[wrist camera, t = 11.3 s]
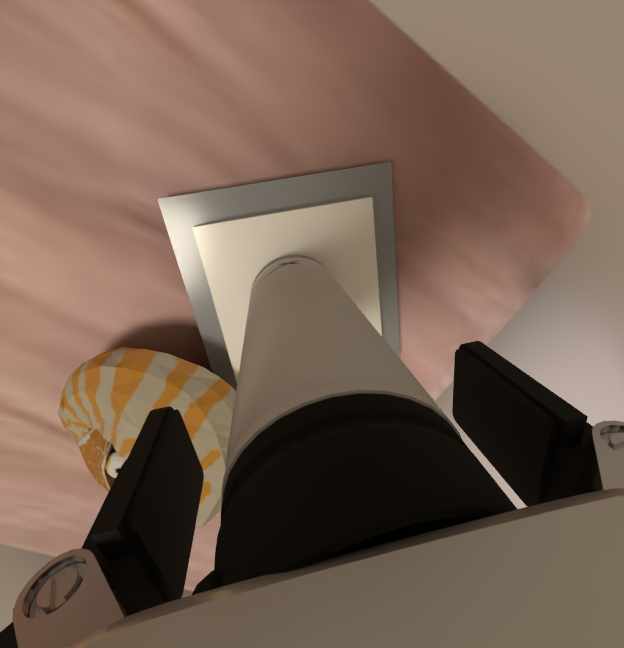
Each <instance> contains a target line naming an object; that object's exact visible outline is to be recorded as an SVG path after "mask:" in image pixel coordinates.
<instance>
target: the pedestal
mask: <svg viewBox="0 0 624 648" xmlns="http://www.w3.org/2000/svg"><path fill="white" fill-rule="evenodd" d="M158 202H159V205H160V208H161V212H162V215H163V218H164V221H165V224H166V227H167V231H168V234H169V237H170V240H171V243H172V246H173V249H174V253H175V256H176V259H177V262H178V265H179V268H180V271H181V275H182V278H183V281H184V284H185V287H186V290H187V294H188V297H189V300H190V303H191V306H192V309H193V312H194V316H195V319H196V322H197V325H198V328H199V331H200V335H201V338H202V341H203V344H204V347H205V350H206V353H207V357H208V360H209V363H210V366H211V369H212V372H213V374H216V375H217V376H219V377H220V378H221V379H223V380H224V381H225V382H227V383H228V384H229V385H230V386H231V387H232V388H233V389H234V390H235V391H236V389H237V382H238V375H239V369H240V362H241V355H242V348H243V341H244V335H245V328H246V321H247V314H248V308H249V301H250V294H251V289H252V285H253V282H254V280H255V278H256V276H257V274H258V273H259V272H260V271H261V269H262V268H263V267H265V266H266V265H267V264H268V263H269V262H271V261H273V260H275V259H277V258H280V257H283V256H287V255H302V256H307V257H310V258H313V259H314V260H316V261H318V262H320V263H321V264H322V265H323V266H324V267H326V268H327V270H328V271H329V272H330V273H331V275H332V276H333V277H334V278H335V279H336V281H337V282H338V283H339V284H340V286H341V287H342V288H343V289H344V291H345V292H346V293H347V294H348V296H349V297H350V298H351V299H352V300H353V302H354V303H355V304H356V305H357V307H358V308H359V309H360V310H361V312H362V313H363V314H364V315H365V316H366V318H367V319H368V320H369V321H370V323H371V324H372V325H373V326H374V328H375V329H376V330H377V331H378V333H379V334H380V335H381V336H382V337H383V339H384V340H385V341H386V342H387V344H388V345H389V346H390V347H391V349H392V350H393V351H394V352H395V353H396V355H397V356H398V357H399V358H400V338H399V316H398V293H397V271H396V249H395V227H394V205H393V182H392V162H386V163H380V164H373V165H367V166H361V167H355V168H348V169H342V170H336V171H330V172H323V173H317V174H311V175H305V176H298V177H292V178H286V179H280V180H273V181H267V182H261V183H254V184H248V185H242V186H236V187H229V188H223V189H217V190H211V191H204V192H198V193H192V194H186V195H179V196H173V197H167V198H161V199H158Z"/></svg>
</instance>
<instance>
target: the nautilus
mask: <svg viewBox="0 0 624 648" xmlns="http://www.w3.org/2000/svg"><path fill="white" fill-rule="evenodd" d="M235 396H236V391H235V390H234V389H233V388H232V387H231V386H230V385H229V384H228V383H227V382H225V381H224V380H223V379H221V378H220V377H219V376H217V375H216V374H213V373H212V372H210V371H209V370H207V369H206V368H204V367H202V366H199V365H196V364H194V363H191V362H189V361H186V360H183V359H181V358H178V357H176V356H173V355H170V354H168V353H163V352H157V351H152V350H147V349H137V348H127V347H120V348H117V349H114V350H111V351H108V352H105V353H101V354H99V355H97V356H96V357H94V358H92V359H90V360H88V361H87V362H85V363H83V364H82V365H81V366H80V367H79V368H78V369H77V370H75V371H74V372H73V373H72V374H71V375H70V377H69V378H68V380H67V382H66V385H65V387H64V389H63V392H62V396H61V402H60V408H59V416H60V418H61V421H62V423H63V425H64V427H65V428H66V429H67V430H68V432H69V433H70V434H71V435H72V436H73V437H74V438H75V439H76V440H77V441H78V443H77V444H78V446H79V448H80V451H81V453H82V456H83V458H84V461H85V463H86V466H87V467H88V469H89V470H90V472H91V473H92V475H93V476H94V478H95V479H96V481H97V482H98V483H99V484H100V485H102V486H103V487H104V488H105V489H107V490H108V491H110V489H111V487H112V485H113V483H114V481H115V479H116V476H117V474H118V472H119V470H120V468H121V466H122V464H123V463H124V461H125V460H127V458H128V456H129V454H130V452H131V450H132V448H133V446H134V443H135V441H136V439H137V437H138V435H139V433H140V431H141V429H142V427H143V425H144V423H145V421H146V418H147V416H148V414H149V412H150V411H151V410H153V409H158V408H163V407H168V406H171V407H172V408H173V409H174V410H176V409H178V410H179V411H180V413H181V416H182V418H183V421H184V423H185V426H186V428H187V431H188V433H189V436H190V438H191V441H192V443H193V446H194V448H195V451H196V453H197V456H198V459H199V461H200V464H201V466H202V469H203V473H204V482H203V487H202V493H201V498H200V503H199V509H198V514H197V520H196V525H195V526H196V527H199V528H202V527H203V526H204V525H205V524H206V523H207V522H208V521H209V520H210V519H212V518H213V517H214V516H215V515H216V514H217V513H218V512H219V511H220V509H221V495H222V484H223V477H224V474H225V470H226V457H227V450H228V443H229V436H230V430H231V423H232V416H233V409H234V402H235Z"/></svg>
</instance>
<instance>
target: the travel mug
mask: <svg viewBox="0 0 624 648" xmlns="http://www.w3.org/2000/svg"><path fill="white" fill-rule="evenodd" d="M514 510H517V508H516V507H515V506H514V504H513V503H512V502H511V501H510V499H509V498H508V497H507V496H506V494H505V493H504V492H503V491H502V490H501V488H500V487H499V486H498V484H497V483H496V482H495V480H494V479H493V478H492V477H491V475H490V474H489V473H488V472H487V470H486V469H485V468H484V467H483V465H482V464H481V463H480V462H479V460H478V459H477V458H476V457H475V455H474V454H473V453H472V452H471V451H470V450H469V448H468V447H467V446H466V445H465V443H464V442H463V440H462V439H461V436H460V434H459V432H458V431H457V429H456V428H455V427H454V426H453V424H452V423H451V422H450V420H449V419H448V418H447V416H446V415H445V414H444V413H443V411H442V410H441V409H440V408H439V407H438V406H437V404H436V403H435V402H434V401H433V399H432V398H431V397H430V395H429V394H428V393H427V392H426V390H425V389H424V388H423V387H422V386H421V384H420V383H419V382H418V381H417V379H416V378H415V377H414V376H413V374H412V373H411V372H410V371H409V370H408V368H407V367H406V366H405V365H404V363H403V362H402V361H401V360H400V358H399V357H398V356H397V355H396V353H395V352H394V351H393V350H392V349H391V347H390V346H389V345H388V344H387V342H386V341H385V340H384V339H383V337H382V336H381V335H380V334H379V333H378V331H377V330H376V329H375V328H374V326H373V325H372V324H371V323H370V321H369V320H368V319H367V318H366V316H365V315H364V314H363V313H362V312H361V310H360V309H359V308H358V307H357V305H356V304H355V303H354V302H353V300H352V299H351V298H350V297H349V296H348V294H347V293H346V292H345V291H344V289H343V288H342V287H341V286H340V284H339V283H338V282H337V281H336V279H335V278H334V277H333V276H332V275H331V273H330V272H329V271H328V270H327V268H326V267H324V266H323V265H322V264H321V263H320V262H318V261H316V260H314V259H313V258H310V257H307V256H302V255H287V256H283V257H280V258H277V259H275V260H273V261H271V262H269V263H268V264H267V265H266V266H265V267H263V268H262V269H261V271H260V272H259V273H258V274H257V276H256V278H255V280H254V282H253V285H252V289H251V294H250V301H249V308H248V314H247V321H246V328H245V335H244V341H243V348H242V355H241V362H240V369H239V375H238V382H237V389H236V396H235V402H234V409H233V416H232V423H231V430H230V436H229V443H228V450H227V457H226V470H225V474H224V477H223V484H222V495H221V526H220V530H219V533H218V537H217V544H216V552H215V567H214V571H212V572H211V573H209V574H208V575H207V576H206V577H205V578H204V579H203V580H202V581H201V582H200V583H198V584H197V586H196V588H195V590H194V592H193V593H192V595H195V594H198V593H202V592H205V591H209V590H212V589H216V588H219V587H223V586H226V585H230V584H233V583H237V582H241V581H245V580H248V579H252V578H256V577H260V576H263V575H269V574H278V573H284V572H288V571H292V570H295V569H299V568H302V567H305V566H309V565H312V564H315V563H318V562H319V561H321V560H323V559H327V558H331V557H335V556H339V555H342V554H346V553H350V552H354V551H358V550H362V549H365V548H369V547H373V546H377V545H381V544H385V543H388V542H392V541H396V540H400V539H404V538H408V537H412V536H415V535H419V534H423V533H427V532H431V531H435V530H439V529H443V528H446V527H450V526H454V525H458V524H462V523H466V522H470V521H474V520H478V519H482V518H486V517H490V516H494V515H498V514H502V513H506V512H510V511H514Z"/></svg>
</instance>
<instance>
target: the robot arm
mask: <svg viewBox="0 0 624 648" xmlns="http://www.w3.org/2000/svg"><path fill="white" fill-rule="evenodd" d="M453 417H454V419H455V421H456V422H457V424H458V425H459V426H460V427H461V428H462V430H463V431H464V432H465V433H466V434H467V436H468V437H469V438H470V439H471V440H472V442H473V443H474V444H475V445H476V446H477V447H478V449H479V450H480V451H481V452H482V453H483V454H484V456H485V457H486V458H487V459H488V461H489V462H490V463H491V464H492V465H493V466H494V468H495V469H496V470H497V471H498V473H499V474H500V475H501V476H502V477H503V479H504V480H505V481H506V482H507V483H508V484H509V486H510V487H511V488H512V489H513V490H514V492H515V493H516V494H517V495H518V496H519V498H520V499H521V500H522V501H523V502H524V503H525V505H526V506H528V507H525V508H522V509H517V510H514V511H510V512H506V513H502V514H498V515H494V516H490V517H486V518H482V519H478V520H474V521H470V522H466V523H462V524H458V525H454V526H450V527H446V528H443V529H439V530H435V531H431V532H427V533H423V534H419V535H415V536H412V537H408V538H404V539H400V540H396V541H392V542H388V543H385V544H381V545H377V546H373V547H369V548H365V549H362V550H358V551H354V552H350V553H346V554H342V555H339V556H335V557H331V558H327V559H323V560H321V561H319V562H318V563H315V564H312V565H309V566H305V567H302V568H299V569H295V570H292V571H288V572H284V573H278V574H269V575H263V576H260V577H256V578H252V579H248V580H245V581H241V582H237V583H233V584H230V585H226V586H223V587H219V588H216V589H212V590H209V591H205V592H202V593H198V594H195V595H191V596H188V597H185V598H181V597H182V595H183V590H184V585H185V579H186V574H187V568H188V563H189V558H190V552H191V547H192V541H193V536H194V531H195V525H196V520H197V514H198V509H199V503H200V498H201V493H202V487H203V482H204V473H203V469H202V466H201V464H200V461H199V459H198V456H197V453H196V451H195V448H194V446H193V443H192V441H191V438H190V436H189V433H188V431H187V428H186V426H185V423H184V421H183V418H182V416H181V413H180V411H179V410H178V409H176V410H174V409H173V408H172V407H171V406H168V407H163V408H158V409H153V410H151V411H150V412H149V414H148V416H147V418H146V421H145V423H144V425H143V427H142V429H141V431H140V433H139V435H138V437H137V439H136V441H135V443H134V446H133V448H132V450H131V452H130V454H129V456H128V458H127V460H125V461H124V463H123V464H122V466H121V468H120V470H119V472H118V474H117V476H116V479H115V481H114V483H113V485H112V487H111V489H110V491H109V493H108V495H107V497H106V499H105V501H104V503H103V505H102V507H101V509H100V511H99V513H98V515H97V518H96V520H95V522H94V524H93V526H92V528H91V530H90V532H89V534H88V536H87V538H86V540H85V542H84V544H83V546H82V548H80V549H74V550H70V551H68V552H65V553H63V554H61V555H59V556H58V557H56V558H54V559H53V560H51V561H50V562H48V563H47V564H46V565H45V566H44V567H42V568H41V569H40V570H39V571H38V572H37V573H36V574H35V575H34V576H33V577H32V578H31V580H30V581H29V582H28V583H27V584H26V585H25V587H24V588H23V590H22V592H21V593H20V595H19V596H18V598H17V601H16V603H15V606H14V608H13V622H12V623H11V624H10V625H9V626H7V627H6V628H5V629H4V630H3V631H1V632H0V648H624V422H619V421H603V422H600V423H597V424H596V425H595V426H594V427H593V426H591V425H590V424H589V423H587V422H586V421H587V416H586V415H584V414H583V413H581V412H580V411H579V410H577V409H576V408H574V407H573V406H572V405H570V404H569V403H567V402H566V401H564V400H563V399H562V398H560V397H559V396H557V395H556V394H554V393H553V392H551V391H550V390H549V389H547V388H546V387H544V386H543V385H542V384H540V383H539V382H537V381H536V380H534V379H533V378H532V377H530V376H529V375H527V374H526V373H524V372H523V371H522V370H520V369H519V368H517V367H516V366H515V365H513V364H512V363H510V362H509V361H507V360H506V359H504V358H503V357H502V356H500V355H499V354H497V353H496V352H494V351H493V350H492V349H490V348H489V347H487V346H486V345H485V344H483V343H482V342H480V341H475V342H470V343H465V344H462V345H460V347H459V349H457V350H456V352H455V366H454V390H453Z"/></svg>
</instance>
